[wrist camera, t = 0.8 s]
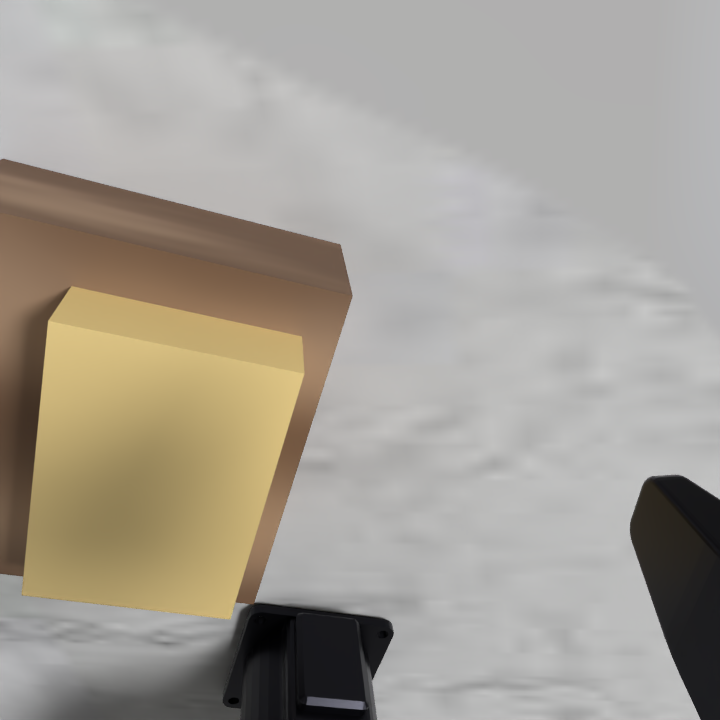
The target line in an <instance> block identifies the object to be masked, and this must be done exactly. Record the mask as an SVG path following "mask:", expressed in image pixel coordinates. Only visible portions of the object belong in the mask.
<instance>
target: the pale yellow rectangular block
mask: <svg viewBox="0 0 720 720" xmlns="http://www.w3.org/2000/svg"><path fill="white" fill-rule="evenodd" d="M303 377H304V359H303V344H302V336H297V335H293V334H288V333H283V332H279V331H274V330H270V329H265V328H261V327H256V326H251V325H247V324H242V323H238V322H233V321H229V320H224V319H219V318H215V317H210V316H206V315H201V314H197V313H192V312H187V311H183V310H178V309H174V308H169V307H165V306H160V305H155V304H151V303H146V302H142V301H137V300H133V299H128V298H123V297H119V296H114V295H110V294H105V293H101V292H96V291H91V290H87V289H82V288H78V287H73V286H71V288H70V289H69V291H68V292H67V294H66V295H65V297H64V298H63V300H62V301H61V303H60V304H59V306H58V307H57V309H56V310H55V312H54V313H53V314H52V316H51V317H50V319H49V320H48V328H47V338H46V348H45V359H44V369H43V379H42V390H41V400H40V410H39V421H38V431H37V441H36V452H35V462H34V472H33V483H32V493H31V503H30V513H29V524H28V534H27V544H26V555H25V565H24V575H23V586H22V595H24V596H32V597H41V598H49V599H58V600H67V601H75V602H84V603H93V604H101V605H110V606H119V607H127V608H136V609H144V610H153V611H162V612H170V613H179V614H188V615H196V616H205V617H214V618H222V619H230V618H231V615H232V612H233V608H234V605H235V602H236V598H237V595H238V592H239V588H240V585H241V582H242V579H243V575H244V572H245V569H246V565H247V562H248V559H249V555H250V552H251V549H252V546H253V542H254V539H255V536H256V532H257V529H258V526H259V522H260V519H261V516H262V512H263V509H264V506H265V503H266V499H267V496H268V493H269V489H270V486H271V483H272V479H273V476H274V473H275V470H276V466H277V463H278V460H279V456H280V453H281V450H282V446H283V443H284V440H285V436H286V433H287V430H288V427H289V423H290V420H291V417H292V413H293V410H294V407H295V403H296V400H297V397H298V394H299V390H300V387H301V384H302V380H303Z"/></svg>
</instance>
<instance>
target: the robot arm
mask: <svg viewBox="0 0 720 720" xmlns="http://www.w3.org/2000/svg"><path fill="white" fill-rule="evenodd" d="M630 535H631V540H632V543H633V546H634V549H635V552H636V555H637V558H638V561H639V564H640V567H641V570H642V573H643V575H644V578H645V581H646V584H647V587H648V590H649V593H650V596H651V599H652V602H653V605H654V607H655V610H656V613H657V616H658V619H659V622H660V625H661V628H662V631H663V634H664V637H665V639H666V642H667V645H668V647H669V650H670V653H671V655H672V657H673V660H674V662H675V664H676V667H677V669H678V671H679V674H680V676H681V678H682V680H683V682H684V684H685V687H686V689H687V691H688V693H689V695H690V697H691V700H692V702H693V704H694V706H695V708H696V710H697V712H698V715H699V717H700V719H701V720H720V499H718V498H717V497H715V496H713V495H712V494H710V493H709V492H707V491H706V490H704V489H703V488H701V487H700V486H698V485H697V484H695V483H693V482H692V481H690V480H689V479H687V478H685V477H683V476H681V475H664V476H652V477H649V478H648V479H647V480H646V481H645V482H644V483H643V486H642V489H641V492H640V495H639V498H638V501H637V504H636V506H635V509H634V512H633V515H632V518H631V522H630ZM259 616H263V617H259ZM393 634H394V632H393V626H392V623H391V622H390V621H388V620H384V619H376V618H368V617H359V616H351V615H343V614H335V613H327V612H319V611H310V610H302V609H294V608H286V607H278V606H269V605H257V606H254V607H252V608H251V609H250V611H249V614H248V617H247V620H246V623H245V626H244V629H243V633H242V636H241V639H240V642H239V645H238V648H237V651H236V654H235V658H234V661H233V664H232V667H231V670H230V673H229V676H228V680H227V683H226V686H225V689H224V693H223V703H224V705H225V706H227V707H231V708H241V718H240V720H377V715H376V708H375V700H374V693H373V685H372V680H373V678H374V676H375V673H376V671H377V669H378V667H379V665H380V663H381V661H382V659H383V656H384V654H385V652H386V650H387V648H388V646H389V644H390V641H391V639H392V637H393Z"/></svg>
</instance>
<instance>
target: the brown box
mask: <svg viewBox="0 0 720 720" xmlns="http://www.w3.org/2000/svg"><path fill="white" fill-rule="evenodd" d="M71 286H73V287H78V288H82V289H87V290H91V291H96V292H101V293H105V294H110V295H114V296H119V297H123V298H128V299H133V300H137V301H142V302H146V303H151V304H155V305H160V306H165V307H169V308H174V309H178V310H183V311H187V312H192V313H197V314H201V315H206V316H210V317H215V318H219V319H224V320H229V321H233V322H238V323H242V324H247V325H251V326H256V327H261V328H265V329H270V330H274V331H279V332H283V333H288V334H293V335H297V336H302V344H303V359H304V377H303V380H302V384H301V387H300V390H299V394H298V397H297V400H296V403H295V407H294V410H293V413H292V417H291V420H290V423H289V427H288V430H287V433H286V436H285V440H284V443H283V446H282V450H281V453H280V456H279V460H278V463H277V466H276V470H275V473H274V476H273V479H272V483H271V486H270V489H269V493H268V496H267V499H266V503H265V506H264V509H263V512H262V516H261V519H260V522H259V526H258V529H257V532H256V536H255V539H254V542H253V546H252V549H251V552H250V555H249V559H248V562H247V565H246V569H245V572H244V575H243V579H242V582H241V585H240V588H239V592H238V595H237V598H236V602H237V603H245V604H254V602H255V599H256V595H257V592H258V589H259V586H260V583H261V580H262V577H263V574H264V570H265V567H266V564H267V561H268V558H269V555H270V552H271V549H272V546H273V542H274V539H275V536H276V533H277V530H278V527H279V524H280V521H281V518H282V514H283V511H284V508H285V505H286V502H287V499H288V496H289V493H290V489H291V486H292V483H293V480H294V477H295V474H296V471H297V468H298V465H299V461H300V458H301V455H302V452H303V449H304V446H305V443H306V440H307V436H308V433H309V430H310V427H311V424H312V421H313V418H314V415H315V412H316V408H317V405H318V402H319V399H320V396H321V393H322V390H323V387H324V383H325V380H326V377H327V374H328V371H329V368H330V365H331V362H332V359H333V355H334V352H335V349H336V346H337V343H338V340H339V337H340V334H341V330H342V327H343V324H344V321H345V318H346V315H347V312H348V309H349V306H350V302H351V299H352V291H351V287H350V283H349V279H348V274H347V270H346V266H345V262H344V257H343V253H342V249H341V245H340V244H336V243H332V242H328V241H324V240H320V239H316V238H312V237H308V236H304V235H301V234H297V233H293V232H289V231H285V230H281V229H277V228H273V227H269V226H265V225H261V224H257V223H253V222H249V221H246V220H242V219H238V218H234V217H230V216H226V215H222V214H218V213H214V212H210V211H206V210H202V209H198V208H194V207H191V206H187V205H183V204H179V203H175V202H171V201H167V200H163V199H159V198H155V197H151V196H147V195H143V194H140V193H136V192H132V191H128V190H124V189H120V188H116V187H112V186H108V185H104V184H100V183H96V182H92V181H88V180H85V179H81V178H77V177H73V176H69V175H65V174H61V173H57V172H53V171H49V170H45V169H41V168H37V167H33V166H30V165H26V164H22V163H18V162H14V161H10V160H6V159H2V160H0V574H8V575H16V576H23V575H24V565H25V555H26V544H27V534H28V524H29V513H30V503H31V493H32V483H33V472H34V462H35V452H36V441H37V431H38V421H39V410H40V400H41V390H42V379H43V369H44V359H45V348H46V338H47V328H48V320H49V319H50V317H51V316H52V314H53V313H54V312H55V310H56V309H57V307H58V306H59V304H60V303H61V301H62V300H63V298H64V297H65V295H66V294H67V292H68V291H69V289H70V288H71Z"/></svg>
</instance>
